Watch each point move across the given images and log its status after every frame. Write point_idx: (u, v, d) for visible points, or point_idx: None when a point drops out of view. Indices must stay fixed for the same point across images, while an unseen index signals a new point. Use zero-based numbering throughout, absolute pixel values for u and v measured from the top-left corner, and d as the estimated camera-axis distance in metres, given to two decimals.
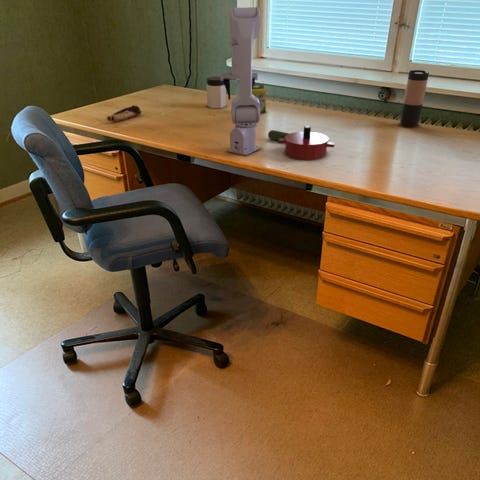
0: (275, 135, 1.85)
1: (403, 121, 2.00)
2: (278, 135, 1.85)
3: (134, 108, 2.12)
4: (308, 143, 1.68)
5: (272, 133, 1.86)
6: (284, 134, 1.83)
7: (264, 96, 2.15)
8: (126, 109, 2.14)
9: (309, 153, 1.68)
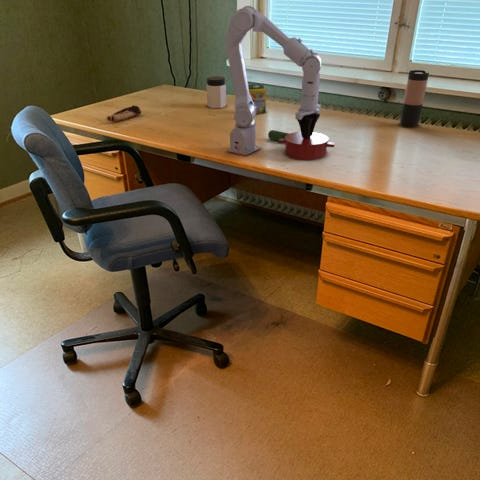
0: (275, 135, 1.85)
1: (403, 121, 2.00)
2: (278, 135, 1.85)
3: (134, 108, 2.12)
4: (308, 143, 1.68)
5: (272, 133, 1.86)
6: (284, 134, 1.83)
7: (264, 96, 2.15)
8: (126, 109, 2.14)
9: (309, 153, 1.68)
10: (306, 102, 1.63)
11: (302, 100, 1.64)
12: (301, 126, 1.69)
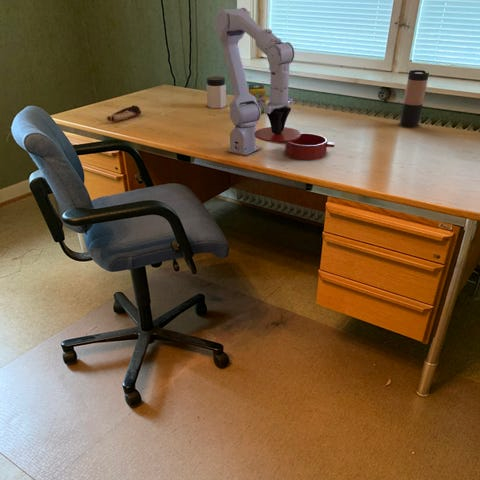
0: None
1: (403, 121, 2.00)
2: None
3: (134, 108, 2.12)
4: (279, 138, 1.57)
5: None
6: None
7: (264, 96, 2.15)
8: (126, 109, 2.14)
9: (309, 153, 1.68)
10: (275, 95, 1.52)
11: (271, 93, 1.53)
12: (271, 121, 1.58)
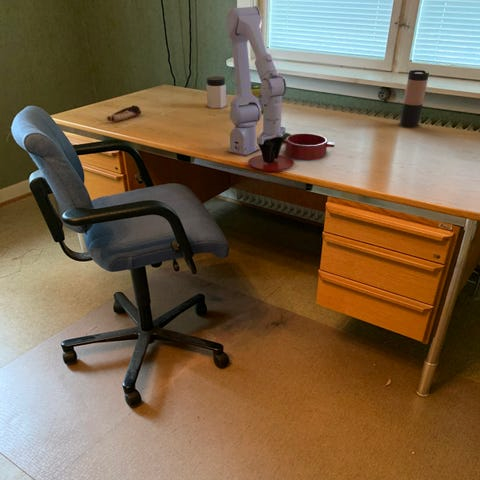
0: None
1: (403, 121, 2.00)
2: None
3: (134, 108, 2.12)
4: (272, 167, 1.61)
5: None
6: (284, 134, 1.83)
7: None
8: (126, 109, 2.14)
9: (309, 153, 1.68)
10: (268, 126, 1.56)
11: (264, 124, 1.57)
12: (262, 151, 1.62)
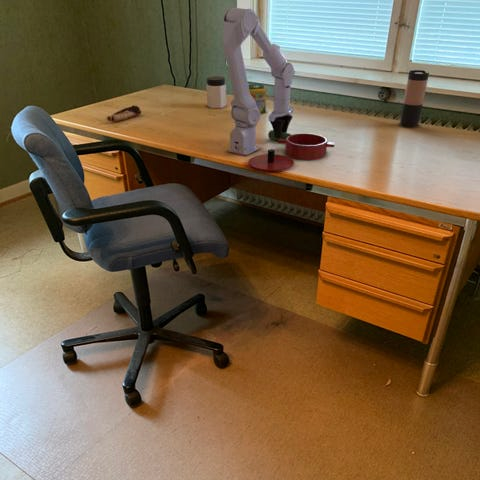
0: None
1: (403, 121, 2.00)
2: None
3: (134, 108, 2.12)
4: (272, 167, 1.61)
5: (272, 133, 1.86)
6: (284, 134, 1.83)
7: (264, 96, 2.15)
8: (126, 109, 2.14)
9: (309, 153, 1.68)
10: (278, 105, 1.77)
11: (275, 103, 1.78)
12: (274, 127, 1.83)
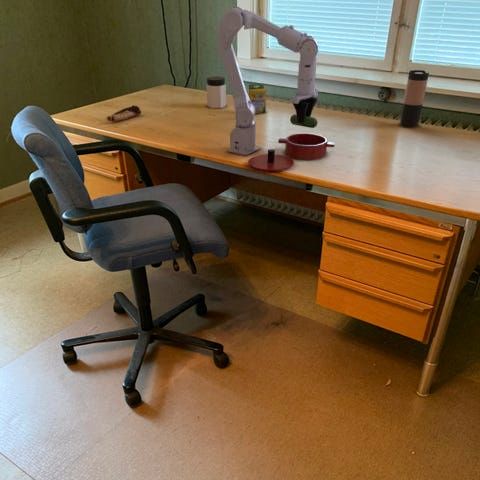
0: None
1: (403, 121, 2.00)
2: None
3: (134, 108, 2.12)
4: (272, 167, 1.61)
5: (295, 118, 1.71)
6: (308, 118, 1.68)
7: (264, 96, 2.15)
8: (126, 109, 2.14)
9: (309, 153, 1.68)
10: (302, 86, 1.62)
11: (299, 84, 1.63)
12: (297, 111, 1.67)
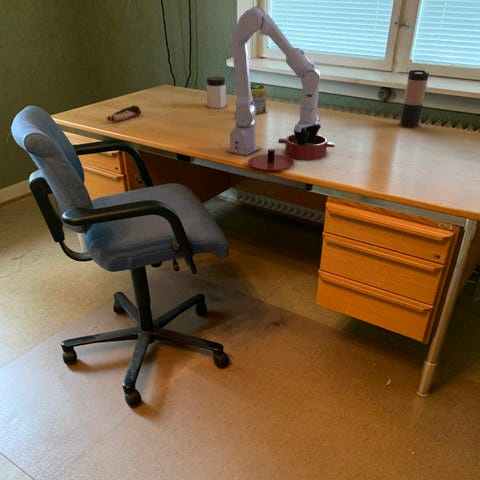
0: None
1: (403, 121, 2.00)
2: None
3: (134, 108, 2.12)
4: (272, 167, 1.61)
5: None
6: None
7: (264, 96, 2.15)
8: (126, 109, 2.14)
9: (309, 153, 1.68)
10: (305, 114, 1.65)
11: (301, 112, 1.66)
12: (298, 139, 1.70)
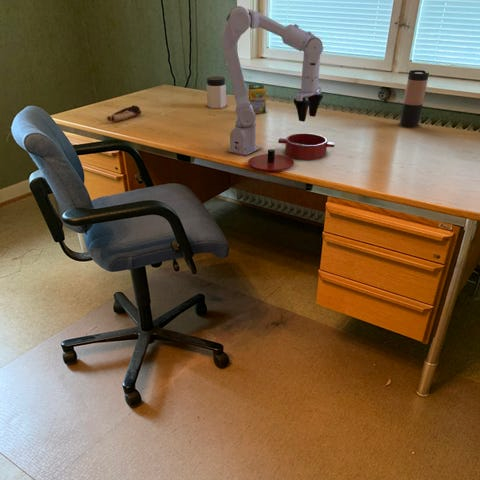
0: None
1: (403, 121, 2.00)
2: None
3: (134, 108, 2.12)
4: (272, 167, 1.61)
5: None
6: None
7: (264, 96, 2.15)
8: (126, 109, 2.14)
9: (309, 153, 1.68)
10: (306, 83, 1.65)
11: (303, 82, 1.66)
12: (298, 109, 1.69)
